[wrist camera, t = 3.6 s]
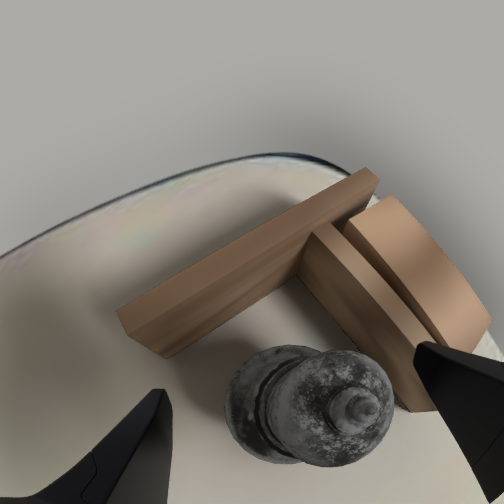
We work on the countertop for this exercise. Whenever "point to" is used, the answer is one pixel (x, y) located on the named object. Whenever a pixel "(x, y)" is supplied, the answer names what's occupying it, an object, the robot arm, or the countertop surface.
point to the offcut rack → (280, 271)
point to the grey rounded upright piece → (309, 406)
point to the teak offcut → (419, 273)
